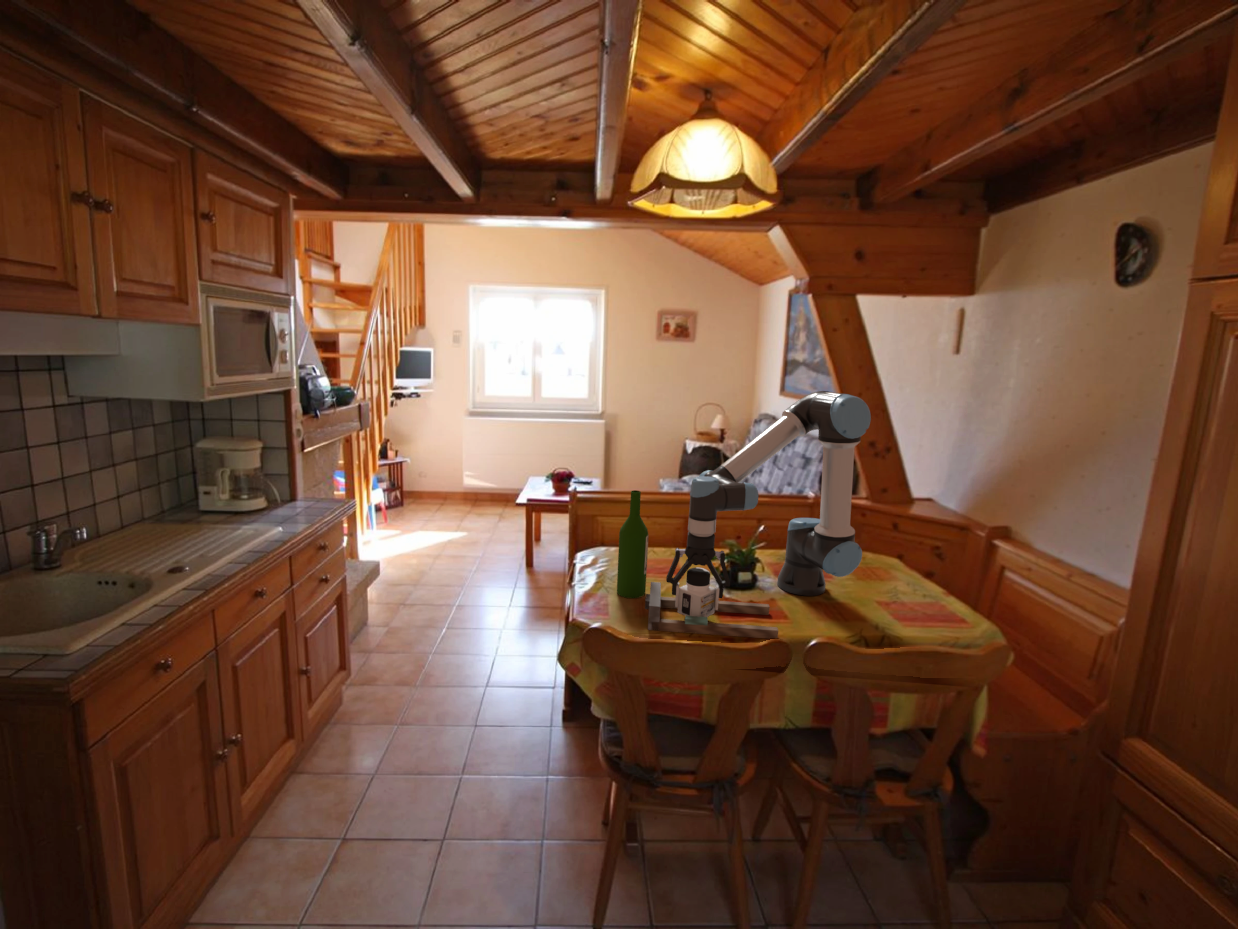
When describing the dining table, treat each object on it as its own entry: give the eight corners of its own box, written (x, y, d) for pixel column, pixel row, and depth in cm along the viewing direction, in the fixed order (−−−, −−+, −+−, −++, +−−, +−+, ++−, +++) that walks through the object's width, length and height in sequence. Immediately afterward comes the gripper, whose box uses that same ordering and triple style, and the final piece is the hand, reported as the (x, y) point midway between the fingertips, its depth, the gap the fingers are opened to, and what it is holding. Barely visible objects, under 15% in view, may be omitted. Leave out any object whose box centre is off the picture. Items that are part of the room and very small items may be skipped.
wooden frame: (767, 612, 187) (769, 590, 185) (777, 639, 170) (779, 615, 169) (645, 603, 189) (646, 581, 188) (643, 629, 172) (644, 605, 171)
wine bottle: (648, 598, 193) (653, 495, 186) (619, 598, 192) (623, 495, 185) (642, 586, 202) (647, 487, 195) (614, 587, 200) (618, 487, 194)
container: (699, 621, 174) (702, 577, 171) (676, 613, 179) (679, 569, 176) (714, 613, 180) (718, 570, 177) (692, 605, 185) (695, 563, 182)
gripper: (741, 530, 177) (735, 604, 182) (660, 525, 179) (655, 598, 183) (745, 539, 170) (738, 615, 175) (659, 534, 171) (655, 609, 176)
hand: (696, 606), depth 179 cm, fingers closed on container, 10 cm apart
